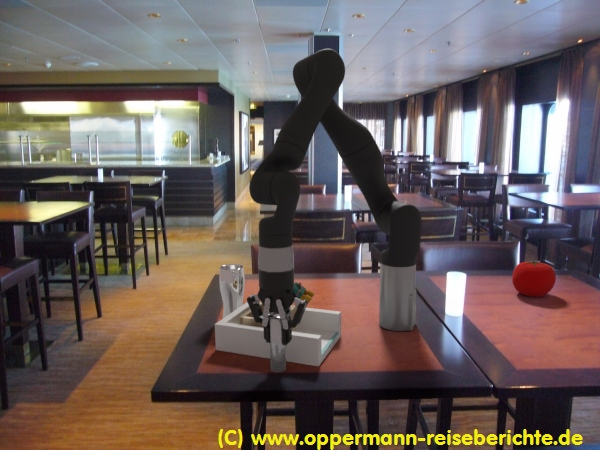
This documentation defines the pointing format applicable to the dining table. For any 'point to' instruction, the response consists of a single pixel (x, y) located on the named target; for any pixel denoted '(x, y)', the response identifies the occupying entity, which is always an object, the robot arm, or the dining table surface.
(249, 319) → the box
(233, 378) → the dining table surface
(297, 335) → the bay
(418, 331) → the dining table surface
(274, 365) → the handle peg
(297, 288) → the binoculars
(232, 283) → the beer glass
